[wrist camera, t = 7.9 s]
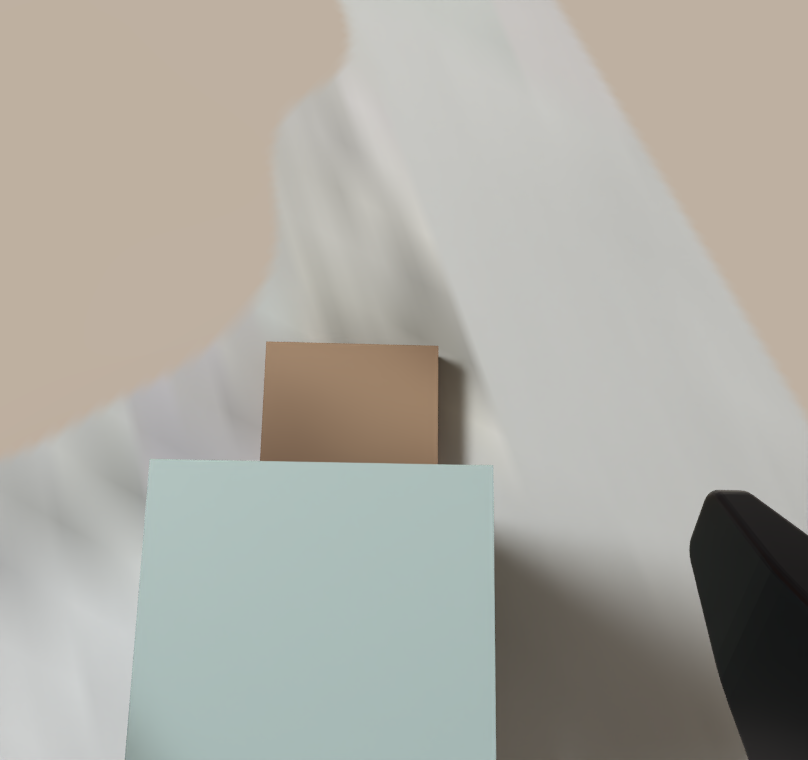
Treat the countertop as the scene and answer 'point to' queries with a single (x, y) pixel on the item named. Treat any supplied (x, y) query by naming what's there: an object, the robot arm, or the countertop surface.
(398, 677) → the block
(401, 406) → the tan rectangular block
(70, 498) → the countertop surface
